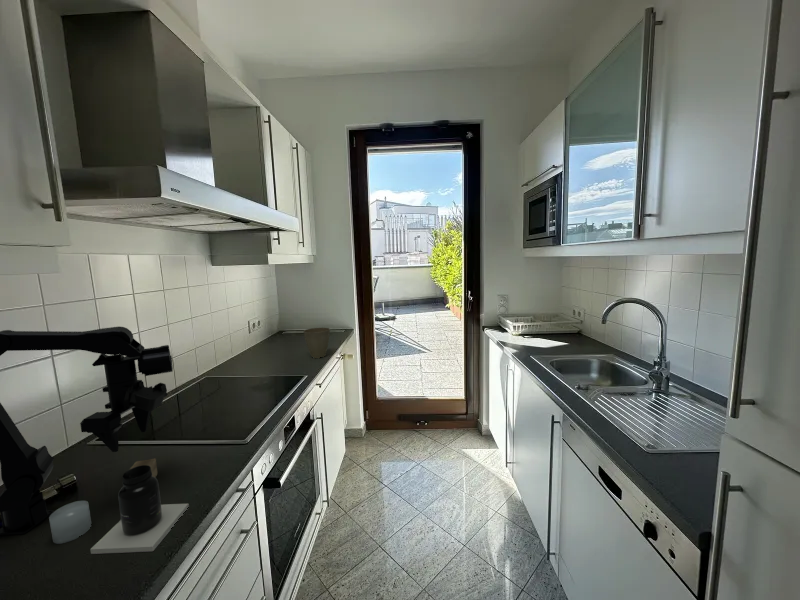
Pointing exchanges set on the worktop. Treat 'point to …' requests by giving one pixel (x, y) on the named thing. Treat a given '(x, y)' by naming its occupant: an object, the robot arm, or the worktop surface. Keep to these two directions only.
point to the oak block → (149, 463)
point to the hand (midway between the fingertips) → (130, 441)
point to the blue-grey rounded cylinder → (70, 521)
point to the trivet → (141, 542)
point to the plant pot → (317, 341)
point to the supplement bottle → (139, 501)
